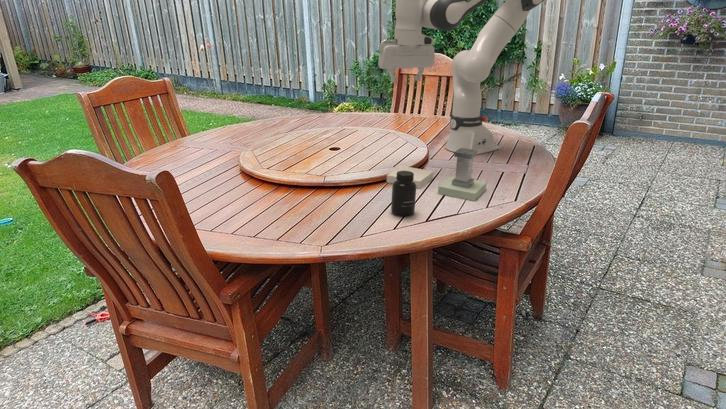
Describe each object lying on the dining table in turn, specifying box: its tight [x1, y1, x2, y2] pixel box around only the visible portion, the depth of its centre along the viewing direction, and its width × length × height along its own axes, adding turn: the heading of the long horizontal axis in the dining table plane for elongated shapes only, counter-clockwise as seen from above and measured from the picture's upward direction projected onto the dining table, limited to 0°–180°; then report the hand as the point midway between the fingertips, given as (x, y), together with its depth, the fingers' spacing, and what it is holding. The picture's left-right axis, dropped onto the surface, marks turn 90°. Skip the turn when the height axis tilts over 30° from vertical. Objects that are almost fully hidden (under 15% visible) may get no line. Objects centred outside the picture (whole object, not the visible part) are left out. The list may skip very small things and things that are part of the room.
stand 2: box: [437, 175, 488, 202], centre depth 157 cm, size 12×12×2 cm
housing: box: [452, 148, 478, 188], centre depth 155 cm, size 6×6×11 cm
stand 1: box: [386, 165, 435, 189], centre depth 167 cm, size 12×12×2 cm
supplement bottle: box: [390, 171, 417, 217], centre depth 139 cm, size 7×7×12 cm
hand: (405, 81), depth 167 cm, fingers open, 8 cm apart
